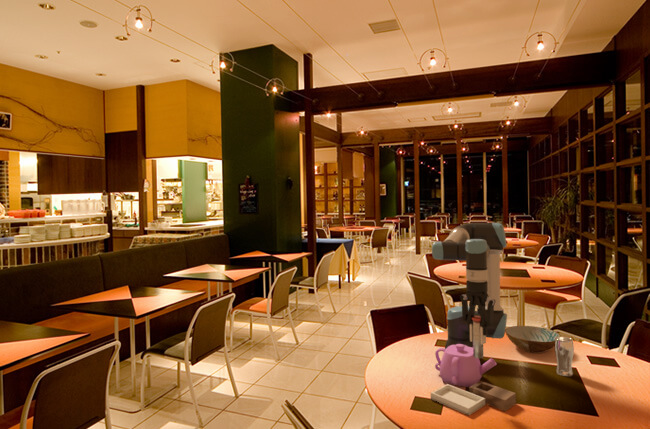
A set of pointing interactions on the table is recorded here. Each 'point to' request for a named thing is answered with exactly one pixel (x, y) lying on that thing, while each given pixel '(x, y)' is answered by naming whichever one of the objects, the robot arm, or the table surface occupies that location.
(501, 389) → the block
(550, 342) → the bowl
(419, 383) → the table surface
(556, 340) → the beer glass
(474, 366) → the teapot
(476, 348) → the red capped grey tube
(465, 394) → the tray
